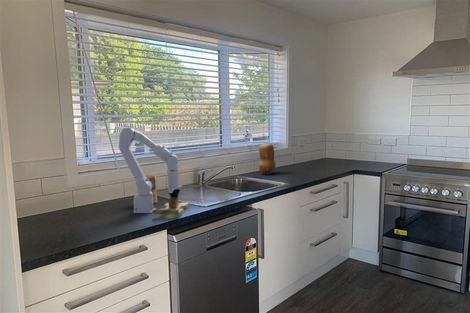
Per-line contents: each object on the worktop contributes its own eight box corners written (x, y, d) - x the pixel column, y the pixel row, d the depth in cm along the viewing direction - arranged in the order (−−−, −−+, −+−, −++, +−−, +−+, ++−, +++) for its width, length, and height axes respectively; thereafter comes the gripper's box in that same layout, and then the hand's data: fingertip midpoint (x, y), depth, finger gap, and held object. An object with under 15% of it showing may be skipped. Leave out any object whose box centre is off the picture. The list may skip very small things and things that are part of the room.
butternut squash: (257, 173, 288) (257, 142, 285) (273, 172, 289) (273, 142, 286) (260, 175, 274) (260, 144, 271) (277, 175, 275) (277, 143, 272)
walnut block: (168, 207, 177) (168, 200, 176) (170, 203, 181) (170, 197, 180) (176, 208, 177) (176, 201, 176) (178, 204, 181) (178, 197, 180)
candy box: (157, 201, 201) (156, 175, 199) (156, 203, 196) (155, 176, 195) (141, 201, 200) (140, 175, 198) (140, 203, 196) (138, 177, 194)
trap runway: (153, 218, 167) (153, 210, 167) (167, 206, 189) (166, 199, 188) (178, 218, 166) (178, 210, 166) (188, 206, 188) (188, 199, 187)
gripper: (177, 180, 172) (179, 207, 173) (184, 175, 186) (185, 199, 188) (163, 180, 172) (165, 207, 174) (171, 175, 187) (172, 200, 188)
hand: (174, 203), depth 181 cm, fingers closed, pressing on walnut block
